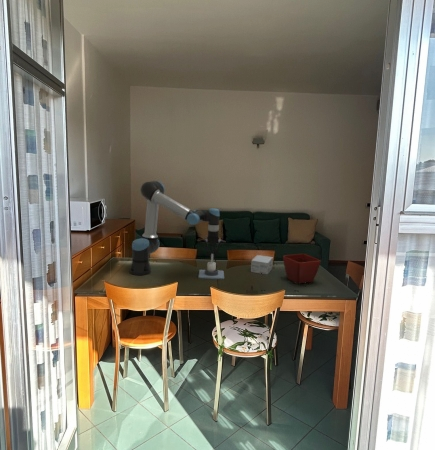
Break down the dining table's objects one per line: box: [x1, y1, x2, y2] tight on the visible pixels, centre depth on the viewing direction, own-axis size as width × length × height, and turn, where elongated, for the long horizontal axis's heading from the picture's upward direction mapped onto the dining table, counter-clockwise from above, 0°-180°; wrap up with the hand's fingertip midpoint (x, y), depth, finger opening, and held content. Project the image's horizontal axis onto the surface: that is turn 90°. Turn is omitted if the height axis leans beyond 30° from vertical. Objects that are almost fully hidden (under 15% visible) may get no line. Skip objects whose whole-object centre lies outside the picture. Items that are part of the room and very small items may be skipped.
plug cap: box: [206, 261, 217, 272], centre depth 242 cm, size 6×6×8 cm
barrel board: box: [197, 268, 225, 280], centre depth 243 cm, size 18×16×4 cm
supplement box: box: [250, 254, 274, 275], centre depth 259 cm, size 17×13×9 cm
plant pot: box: [282, 253, 322, 284], centre depth 239 cm, size 19×19×17 cm
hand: (212, 262), depth 241 cm, fingers closed
